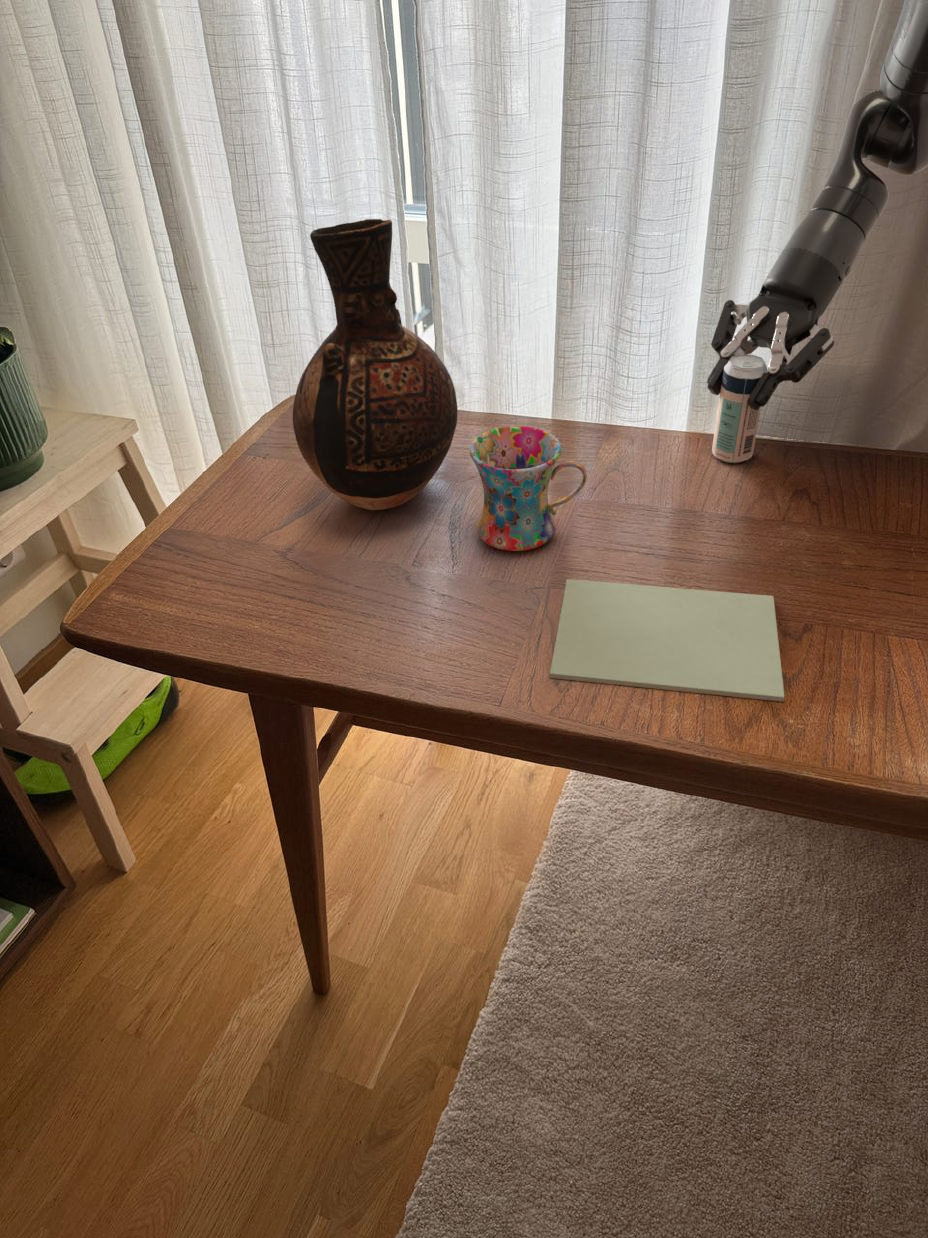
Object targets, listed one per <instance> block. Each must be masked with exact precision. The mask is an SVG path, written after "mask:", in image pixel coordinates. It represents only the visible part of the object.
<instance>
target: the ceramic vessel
mask: <svg viewBox="0 0 928 1238" xmlns="http://www.w3.org/2000/svg"><path fill="white" fill-rule="evenodd" d="M309 238H310V241H311V244H312V246H313V249H314V251H315V252H316V254H317V257H318V259H319V261H320V263H321V265H322V268H323V270H324V274H325V276H326V278H327V281H328V284H329V288H330V292H331V295H332V298H333V304H334V310H335V318H336V325H335V328H334V329H333V330H332V331H331V332H330V333H329V335H328V336H326V338H325V339H324V340H323V342H322V343H321V344H320V345H319V347H318V349H317V350H316V351H315V352H314V354H313V356H312V357H311V358H310V360H309V362H308V363H307V365H306V367H305V369H304V370H303V372H302V374H301V377H300V380H299V382H298V384H297V387H296V391H295V395H294V398H293V399H294V400H293V407H292V427H293V432H294V437H295V441H296V443H297V444H296V445H297V447H298V450H299V451H300V453H301V456H302V457H303V459H304V461H305V462H306V464H307V465H308V467H309V469H310V470H311V472H312V473H313V474H314V475H315V476H316V477H317V478H318V479H319V481H321V483H322V484H323V485H324V486H325V487H326V488H327V490H329V491H330V492H332V494H334V495H336V497H338V498H340V499H341V500H343V501H345V502H347V503H348V504H350V505H352V506H354V507H357V508H361V509H364V510H367V511H382V510H389V509H392V508H395V507H398V506H402V505H404V504H405V503H407V502H409V501H410V500H412V499H413V498H415V497H416V496H417V495H418V494H420V492H421V491H422V490H423V489H424V488H425V487H426V486H427V485H428V483H429V482H430V481H431V480H432V479H433V477H434V476H435V474H436V473H437V472H438V470H439V469H440V467H441V466H442V465H443V463H444V460H445V458H446V456H447V454H448V452H449V450H450V449H451V446H452V442H453V439H454V436H455V432H456V428H457V424H458V402H457V401H458V400H457V393H456V392H457V391H456V389H455V385H454V382H453V379H452V377H451V374H450V372H449V371H448V369H447V366H446V364H444V363H443V361H442V360H441V358H440V356H439V355H438V353H437V352H436V351H434V349H433V348H432V347H431V345H429V344H428V343H427V342H426V341H425V340H423V339H422V338H421V337H420V336H418V335H417V334H416V333H414V332H413V331H411V330H410V329H409V328H407V327H406V326H403V323H402V318H401V313H400V311H399V309H398V308H397V306H396V303H397V301H398V296H397V293H396V292H395V291H394V289H393V288H392V285H391V281H390V277H391V275H390V274H391V259H392V256H391V255H392V244H393V221H392V220H391V219H386V220H383V219H381V218H368V219H364V220H358V221H353V222H345V223H340V224H336V225H334V226H327V227H319V228H317V229H313V230H312V231H311V233H310V234H309Z"/></svg>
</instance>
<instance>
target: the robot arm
mask: <svg viewBox="0 0 928 1238" xmlns="http://www.w3.org/2000/svg"><path fill="white" fill-rule="evenodd" d="M896 24H897V25H896V26H895V30H894V33H893V36H892V38H891V42H890V44H889V47H888V51H887V53H886V56H885V58H884V61H883V63H882V64H883V65H882V68H881V71H880V77H879V85H880V87H881V91H880V90H879V91H875V92H872V93H870V94H868V95H866V96H865V97H863V98H862V99H861V100H859V101H858V102H857V103H856V104H855V102H854V104H853V105H852V107H851V109H850V112H849V114H848V116H847V119H846V124H845V127H844V131H843V134H842V138H841V141H840V146H839V149H838V152H837V156H836V157H835V161H834V163H833V166H832V169H831V171H830V173H829V176H828V178H827V180H826V182H825V184H824V186H823V187H822V189H821V190H820V192H819V194H817V195H818V196H817V197H816V198H815V200H814V202H813V203H812V205H811V207H810V209H809V210H808V211H807V214H806V215H805V217H804V218H803V219H802V221H801V222H800V223H799V224H798V226H797V227H796V228H795V229H794V231H793V232H792V234H791V236H790V238H789V239H788V241H787V243H786V245H785V246H784V247H783V248H782V251H781V253H780V255H779V256H778V257H777V260H776V261H775V262H774V265H773V266H772V267H771V269H770V271H769V273H767V274H768V275H767V276H766V277H765V279H764V281H763V283H762V285H761V288H760V291H759V293H758V294H757V295H756V297H754V299H752V300H751V301H750V302H749V303H748V304H736V303H735V301H734V300H732V299H729V300H726V301H725V302H724V304H723V307H722V310H721V312H720V316H719V319H718V322H717V325H716V327H715V330H714V334H713V337H712V340H711V342H710V346H711V348H713V350H714V351H715V353H716V354H717V356H718V357H719V359H718V361H717V362H716V363H715V366H714V367H713V369H712V371H711V372H710V373H709V375H708V376H707V381H706V383H707V389H708V391H709V392H710V393H711V394H712V395H715V396H720V392H721V385H722V378H723V371H724V367H725V365H727V363H728V361H729V360H730V359H731V357H732V356H736V355H740V354H747V355H752V354H753V352H755V351H756V350H757V349H758V348H767V349H770V353H771V355H770V359H769V363H768V367H767V369H768V373H765V372H764V373H763V375H762V376H761V378H760V380H759V381H758V383H757V384H756V386H755V388H754V389H753V391H752V393H751V394H750V396H749V398H748V400H747V404H748V405H749V406H750V408H752V409H754V410H758V409H759V408H760V406H761V408H764V407H765V406H766V405H767V404H768V402H769V401H770V400H771V398H772V396H773V394H774V392H775V391H776V390H777V388H778V386H779V385H780V384H781V383H783V382H788V381H789V382H792V383H794V384H797V383H799V382H801V381H802V379H804V378H805V376H806V375H807V374H808V373H809V372H810V371H812V369H813V368H814V367H815V366H816V365H817V364H818V363H819V362H820V361H821V360H822V359H823V358H824V357H825V355H826V354H827V353H828V352H829V351H831V349H832V348H833V347H834V346H835V339H834V336H833V335H832V333H831V332H830V329H829V328H827V327H823V328H822V327H821V326H819V325H818V324H819V323H818V322H819V320H820V317H821V316H823V315H824V313H825V312H826V310H827V308H828V307H829V305H830V304H831V302H832V300H833V299H834V297H835V296H836V293H837V292H838V291H839V289H840V287H841V285H842V284H843V282H844V280H845V279H846V277H847V276H848V275H849V274H850V272H851V269H852V267H853V266H854V264H855V262H856V260H857V258H858V256H859V254H860V251H861V250H862V247H863V245H864V244H865V241H866V240H867V238H868V236H870V233H871V232H872V230H873V228H874V226H875V225H876V223H877V222H878V220H879V218H881V215H882V214H883V212H884V211H885V209H886V207H887V204H888V202H889V199H890V191H889V188H888V186H887V185H886V183H885V181H884V180H883V179H881V178H880V177H879V176H878V175H877V174H876V173H875V172H873V171H872V170H871V169H869V167H867V166H866V165H865V163H864V162H863V160H862V159H863V158H866V159H865V160H866V161H868V160H869V162H870V163H874V164H876V165H878V166H881V167H883V168H886V169H888V170H891V171H893V172H895V173H897V174H901V175H914V174H918V173H919V172H921V171H923V170H925V169H926V168H928V0H903V5H902V9H901V11H900V14H899V19H898V22H897V23H896ZM745 318H746V322H745V324H744V325H743V326H742V327H741V328H740V329H738V331H737V332H736V329H737V327H738V326H740V325H742V322H743V320H744V319H745ZM804 340H807V343H806V344H805V345H804V347H802V349H800V351H799V352H798V353H797V354H795V356H794V357H793V354H794V349H795V346H796V345H797V344H799V343H801V342H803V341H804Z"/></svg>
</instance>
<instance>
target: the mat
mask: <svg viewBox="0 0 928 1238" xmlns="http://www.w3.org/2000/svg"><path fill="white" fill-rule="evenodd" d="M562 597H563V598H562V603H561V609H560V615H559V619H558V625H557V630H556V636H555V642H554V648H553V652H552V659H551V664H550V669H549V678H550V679H558V680H567V681H576V682H577V681H578V682H585V683H587V682H588V683H596V684H606V685H617V686H625V687H635V688H645V689H654V690H655V689H656V690H664V691H673V692H674V691H675V692H682V693H683V692H684V693H693V694H702V695H714V696H722V697H731V698H732V697H733V698H741V699H742V698H743V699H750V700H751V699H752V700H761V701H772V702H779V703H780V702H781V703H783V702H784V701H785V697H786V696H785V688H784V678H783V669H782V661H781V659H782V658H781V652H780V643H779V634H778V623H777V616H776V605H775V597H774V595H766V594H765V595H764V594H754V593H741V592H730V591H729V592H727V591H717V590H705V589H695V588H694V589H693V588H679V587H667V586H656V585H645V584H644V585H643V584H633V583H619V582H608V581H595V580H584V579H572V578H571V579H570V578H566V581H565V586H564V592H563V596H562Z"/></svg>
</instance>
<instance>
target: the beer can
mask: <svg viewBox="0 0 928 1238" xmlns="http://www.w3.org/2000/svg"><path fill="white" fill-rule="evenodd" d="M764 372H765V373H768V367H767V364H766V361H765V359H763V357H760V356H758V355H755V354H740V355H736V356H732V357H731V359H730V360H729V361H728V363H727V365H725V367H724V371H723V378H722V385H721V392H720V394H719V399H718V405H717V412H716V420H715V426H714V434H713V439H712V440H713V441H712V446H711V453H712V455H713V456H714V457H715V458H716V459H718V460H720V461H722V462H724V463H727V464H728V463H729V464H738V463H742V462H745V461H748V460H749V459H751V458H752V456H753V454H754V449H755V444H756V438H757V433H758V427H759V422H760V417H761V409H762V406H760V408H759V409H758V410H754V409H752V408H750V406H749V405H748V404H747V400H748V398H749V396H750V394H751V393H752V391H753V389H754V388H755V386H756V384H757V383H758V381H759V380H760V378H761V376H762V375H763V373H764Z"/></svg>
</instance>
